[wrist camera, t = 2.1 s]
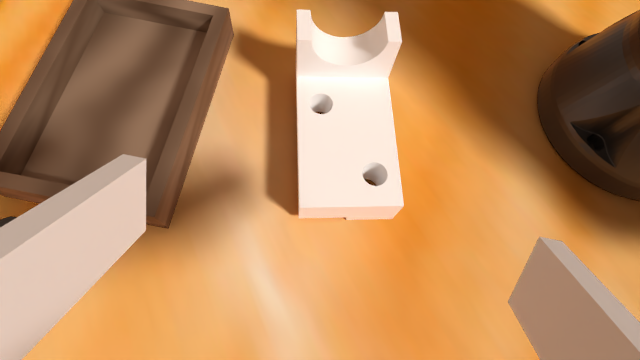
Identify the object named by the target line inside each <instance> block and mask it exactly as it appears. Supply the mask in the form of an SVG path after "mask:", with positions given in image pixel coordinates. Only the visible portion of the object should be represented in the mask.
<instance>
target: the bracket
mask: <svg viewBox="0 0 640 360" xmlns="http://www.w3.org/2000/svg"><path fill="white" fill-rule="evenodd" d="M401 43H402V38H401V31H400V24H399V17H398V12H384V15H383V17H382V18H381V20H380V21H379V23H378V24H377V25H376V26H374V27H373V28H372V29H370V30H369V31H367V32H365V33H363V34H360V35H357V36H353V37H336V36H332V35H329V34H326V33H324V32H323V31H321V30H320V29H319V28H318V27H317V26H316V25H315V24H314V22H313V20H312V18H311V10H297V27H296V109H297V160H298V211H299V218H336V217H346V220H357V219H392V218H393V217H394V216H395V215H396V214H397V213H398V212H399V211H400V210H401V209H402V207H403V206H404V203H403V195H402V187H401V178H400V170H399V162H398V154H397V146H396V138H395V129H394V121H393V113H392V105H391V97H390V89H389V80H388V77H389V74H390V72H391V69H392V67H393V64H394V61H395V59H396V56H397V54H398V51H399V48H400V46H401ZM315 112H323V113H325V114H318V113H315ZM364 179H368V180H371V181H373V182H374V183H375V184H376V186H373V185H370V184H368V183H367V182H366V181H365V180H364Z"/></svg>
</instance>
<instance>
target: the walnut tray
mask: <svg viewBox="0 0 640 360" xmlns="http://www.w3.org/2000/svg"><path fill="white" fill-rule="evenodd" d="M233 35H234V34H233V28H232V23H231V18H230V13H229V9H228V8H223V7H218V6H213V5H208V4H203V3H198V2H193V1H188V0H73V2H72V4H71V6H70V7H69V9H68V11H67V13H66V15H65V16H64V18H63V20H62V22H61V24H60V25H59V27H58V29H57V31H56V33H55V34H54V36H53V38H52V40H51V41H50V43H49V45H48V47H47V49H46V50H45V52H44V54H43V56H42V58H41V59H40V61H39V63H38V65H37V66H36V68H35V70H34V72H33V74H32V75H31V77H30V79H29V81H28V83H27V84H26V86H25V88H24V90H23V92H22V93H21V95H20V97H19V99H18V100H17V102H16V104H15V106H14V108H13V109H12V111H11V113H10V115H9V117H8V118H7V120H6V122H5V124H4V125H3V127H2V129H1V131H0V194H1V195H3V196H6V197H11V198H16V199H21V200H26V201H31V202H36V203H42V202H44V201H45V200H47V199H49V198H50V197H52V196H54V195H56V194H57V193H59V192H61V191H62V190H64V189H66V188H67V187H69V186H71V185H72V184H74V183H76V182H77V181H79V180H81V179H82V178H84V177H86V176H87V175H89V174H91V173H92V172H94V171H96V170H97V169H99V168H101V167H102V166H104V165H106V164H107V163H109V162H111V161H112V160H114V159H116V158H117V157H119V156H121V155H122V154H125V155H130V156H136V157H141V158H146V224H148V225H153V226H159V227H164V228H169V225H170V222H171V219H172V216H173V213H174V210H175V207H176V204H177V201H178V198H179V195H180V192H181V189H182V186H183V183H184V180H185V177H186V174H187V171H188V169H189V166H190V163H191V160H192V157H193V154H194V151H195V148H196V145H197V142H198V139H199V136H200V133H201V130H202V127H203V124H204V121H205V118H206V115H207V112H208V109H209V106H210V103H211V100H212V97H213V94H214V92H215V89H216V86H217V83H218V80H219V77H220V74H221V71H222V68H223V65H224V62H225V59H226V56H227V53H228V50H229V47H230V44H231V41H232V38H233Z"/></svg>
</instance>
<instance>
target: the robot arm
mask: <svg viewBox="0 0 640 360" xmlns="http://www.w3.org/2000/svg"><path fill="white" fill-rule="evenodd" d="M538 111H539V116H540V120H541V123H542V126H543V128H544V131H545V133H546V135H547V137H548V138H549V140H550V142H551V143H552V145H553V147H554V148H555V149H556V151H557V152H558V153H559V155H560V156H561V157H562V158H563V159H564V160H565V161H566V162H567V163H568V164H569V165H570V166H571V167H572V168H573V169H574V170H575V171H576V172H578V173H579V174H580V175H581V176H583V177H584V178H585V179H587V180H588V181H590V182H591V183H593V184H595V185H597V186H598V187H600V188H602V189H604V190H606V191H609V192H611V193H614V194H616V195H619V196H623V197H626V198H631V199H636V200H640V10H639V11H637V12H635V13H633V14H631V15H629V16H627V17H625V18H623V19H621V20H620V21H618V22H616V23H614V24H613V25H611V26H609V27H608V28H606V29H605V30H603V31H602V32H601V33H597V34H594V35H591V36H588V37H586V38H584V39H582V40H580V41H578V42H577V43H575V44H573V45H572V46H571V47H569V48H568V49H567V50H566V51H565V52H564V53H563V54H562V55H561V56H560V57H559V58H558V59H557V60H556V61H555V62H554V63H553V64H552V65H551V66H550V67H549V68H548V69H547V71H546V72H545V74H544V75H543V77H542V80H541V82H540V85H539V90H538ZM145 231H146V158H141V157H136V156H130V155H125V154H122V155H121V156H119V157H117V158H116V159H114V160H112V161H111V162H109V163H107V164H106V165H104V166H102V167H101V168H99V169H97V170H96V171H94V172H92V173H91V174H89V175H87V176H86V177H84V178H82V179H81V180H79V181H77V182H76V183H74V184H72V185H71V186H69V187H67V188H66V189H64V190H62V191H61V192H59V193H57V194H56V195H54V196H52V197H50V198H49V199H47V200H45V201H44V202H42V203H40V204H39V205H37V206H35V207H34V208H32V209H30V210H29V211H27V212H25V213H24V214H22V215H20V216H19V217H17V218H16V217H11V216H10V217H7V218H4V219H1V220H0V360H22V359H23V358H24V357H25V356H26V355H27V354H28V353H29V352H30V351H31V350H32V348H33V347H34V346H35V345H36V344H37V343H38V342H39V341H40V340H41V339H42V338H43V337H44V336H45V335H46V334H47V333H48V332H49V331H50V330H51V329H52V328H53V327H54V326H55V325H56V324H57V322H58V321H59V320H60V319H61V318H62V317H63V316H64V315H65V314H66V313H67V312H68V311H69V310H70V309H71V308H72V307H73V306H74V305H75V304H76V303H77V302H78V301H79V300H80V299H81V298H82V296H83V295H84V294H85V293H86V292H87V291H88V290H89V289H90V288H91V287H92V286H93V285H94V284H95V283H96V282H97V281H98V280H99V279H100V278H101V277H102V276H103V275H104V274H105V273H106V271H107V270H108V269H109V268H110V267H111V266H112V265H113V264H114V263H115V262H116V261H117V260H118V259H119V258H120V257H121V256H122V255H123V254H124V253H125V252H126V251H127V250H128V249H129V248H130V247H131V245H132V244H133V243H134V242H135V241H136V240H137V239H138V238H139V237H140V236H141V235H142V234H143V233H144V232H145ZM508 303H509V305H510V307H511V308H512V310H513V312H514V314H515V316H516V317H517V319H518V321H519V323H520V324H521V326H522V328H523V330H524V332H525V333H526V335H527V337H528V339H529V341H530V342H531V344H532V346H533V348H534V350H535V351H536V353H537V355H538V357H539V358H540V360H640V322H639V321H638V320H637V319H636V318H635V317H634V316H633V315H632V314H631V313H630V312H629V311H628V310H627V309H626V308H625V307H624V306H623V305H622V303H621V302H620V301H619V300H618V299H617V298H616V297H615V296H614V295H613V294H612V293H611V292H610V291H609V290H608V289H607V288H606V287H605V286H604V285H603V284H602V283H601V281H600V280H599V279H598V278H597V277H596V276H595V275H594V274H593V273H592V272H591V271H590V270H589V269H588V268H587V267H586V266H585V265H584V264H583V263H582V262H581V261H580V260H579V258H578V257H577V256H576V255H575V254H574V253H573V252H572V251H571V250H570V249H569V248H568V247H567V246H566V245H565V244H564V243H563V242H562V241H558V240H553V239H548V238H543V237H539V238H538V240H537V242H536V245H535V247H534V249H533V251H532V253H531V255H530V257H529V259H528V261H527V263H526V265H525V267H524V269H523V272H522V274H521V276H520V278H519V280H518V282H517V284H516V286H515V288H514V290H513V292H512V294H511V296H510V299H509V301H508Z"/></svg>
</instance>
